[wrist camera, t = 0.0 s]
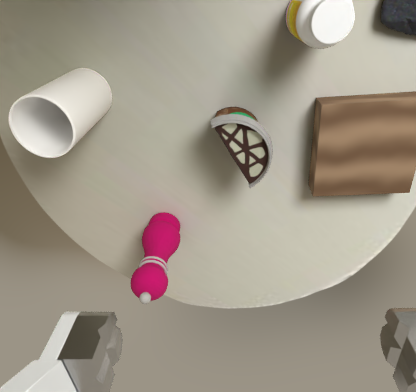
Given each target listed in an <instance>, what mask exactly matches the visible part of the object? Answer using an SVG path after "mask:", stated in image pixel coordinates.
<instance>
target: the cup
mask: <svg viewBox="0 0 416 392" xmlns="http://www.w3.org/2000/svg"><path fill="white" fill-rule="evenodd" d="M111 104H112V92H111V89H110V86H109V84H108V83H107V81H106V80H105V79H104V78H103V77H102V76H101V75H100V74H99V73H97V72H96V71H94V70H91V69H88V68H77V69H74V70H72V71H70V72H68V73H66V74H64V75H62V76H60V77H58V78H57V79H55V80H53V81H51V82H49V83H47V84H45V85H43V86H41V87H39V88H38V89H36V90H34V91H32V92H30V93H28V94H26V95H24V96H22V97H21V98H19V99H18V100H17V101H15V102H14V104H13V105H12V106H11V108H10V111H9V125H10V129H11V131H12V133H13V135H14V137H15V138H16V140H17V141H18V142H19V143H20V144H21V145H22V146H23V147H24V148H25V149H27V150H28V151H29V152H31V153H33V154H35V155H38V156H41V157H45V158H55V157H60V156H62V155H64V154H66V153H67V152H68V151H69V150H70V149H71V148H72V147H73V146H74V145H75V144H76V143H77V142H78V141H79V140H80V139H81V138H82V137H83V136H84V135H85V134H86V133H87V132H88V131H89V130H90V129H91V128H92V127H93V126H94V125H95V124H96V123H97V122H98V121H99V120H100V119H101V118H102V117H103V116H104V115H105V114H106V113H107V112H108V110H109V109H110V107H111Z"/></svg>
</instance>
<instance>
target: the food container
mask: <svg viewBox="0 0 416 392" xmlns="http://www.w3.org/2000/svg"><path fill="white" fill-rule="evenodd" d="M211 125H212V128H215V130H216V131H217V132H218V134H219V135H220V137H221V139H222V140H223V142H224V144H225V145H226V147H227V149H228V150H229V152H230V154H231V156H232V157H233V159H234V160H235V162H236V163H237V165H238V166H239V168H240V170H241V171H242V173H243V174H244V176H245V178H246V179H247V181H248V182H249V188H251V187H253V186H255V185H256V184H257V183H258V182H259V181H260V180H261V179H262V178H263V177H264V176H265V174H266V173H267V171H268V169H269V167H270V164H271V160H272V153H273V149H272V142H271V139H270V137H269V134H268V133H267V131H266V130H265V129H264V128H263V126H262V125H261V124H259V123H258V121H257V119H256V118H255V116H254V115H253V114H252V113H250V112H249V111H247V110H245V109H243V108H239V107H228V108H224V109H221V110H219V111H217V114H216V116H215V118H213V119H211Z"/></svg>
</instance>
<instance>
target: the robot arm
mask: <svg viewBox="0 0 416 392" xmlns="http://www.w3.org/2000/svg"><path fill="white" fill-rule="evenodd" d="M385 318H386V321H387V324H386V325H385V326H383V327H382V330H381V334H380V339H381V346H382V350H383V354H384V356H385V359H386V361H387V362H388V363H390V364H391V365H392V366H393V367H394V368H395V371H394V374H393V378H394V380H395V382H396V385H397V387H398V389H399V392H416V308H398V309H397V308H396V309H395V308H394V309H389V310H388V311H387V312H386V315H385ZM116 321H117V318H116V315H115V313H114V312H65V313H64V314H63V315H62V316H61V317H60V319H59V321H58V323H57V325H56V327H55V329H54V331H53V333H52V335H51V337H50V339H49V341H48V343H47V344H46V346H45V348H44V350H43V352H42V354H41V356H40V358H39V360H33V361H32V362H31V363H30V364H28V365H27V366H26V367H25V368H24V369H22V370H21V371H20V372H19V373H18V374H16V375H15V376H14V377H13V378H11V379H10V380H9V381H8V382H7V383H5V384H4V385H3V386H2V387H0V392H110V388H111V385H112V382H113V378H114V375H115V374H114V371H113V368H112V366H114V365H115V364H116V363H117V362H118V361H119V358H120V355H121V350H122V333H121V330H120V328H118V327H117V326H116V325H115V324H116Z"/></svg>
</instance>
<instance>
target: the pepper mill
mask: <svg viewBox="0 0 416 392" xmlns="http://www.w3.org/2000/svg"><path fill="white" fill-rule="evenodd" d="M179 231H180V223H179V221H178V219H177V218H176V217H175V216H173V215H171V214H169V213H158V214H156V215H154V216H153V217H152V218H151V220H150V222H149V225H148V226H147V227H146V228H145V230H144V232H143V236H142V244H143V248H144V252H145V255H144V258H143V259H142V260H141V261H140V263H139V266H138V269H137V270H136V271H135V272H134V273H133V275H132V278H131V289H132V291H133V293H134V294H135V295H136V296H137V297H138V298H140V302H141V303H143V304H147V303H148V302H150V301H152V300H156V299H158V298H159V297H161V296H162V295H163V294H164V293H165V291H166V289H167V286H168V278H167V271H168V266H167V261H168V259H169V257H170V256H171V255H172V254H173V253H174V252H175V251H176V250H177V248H178V246H179V243H180V234H179Z"/></svg>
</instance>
